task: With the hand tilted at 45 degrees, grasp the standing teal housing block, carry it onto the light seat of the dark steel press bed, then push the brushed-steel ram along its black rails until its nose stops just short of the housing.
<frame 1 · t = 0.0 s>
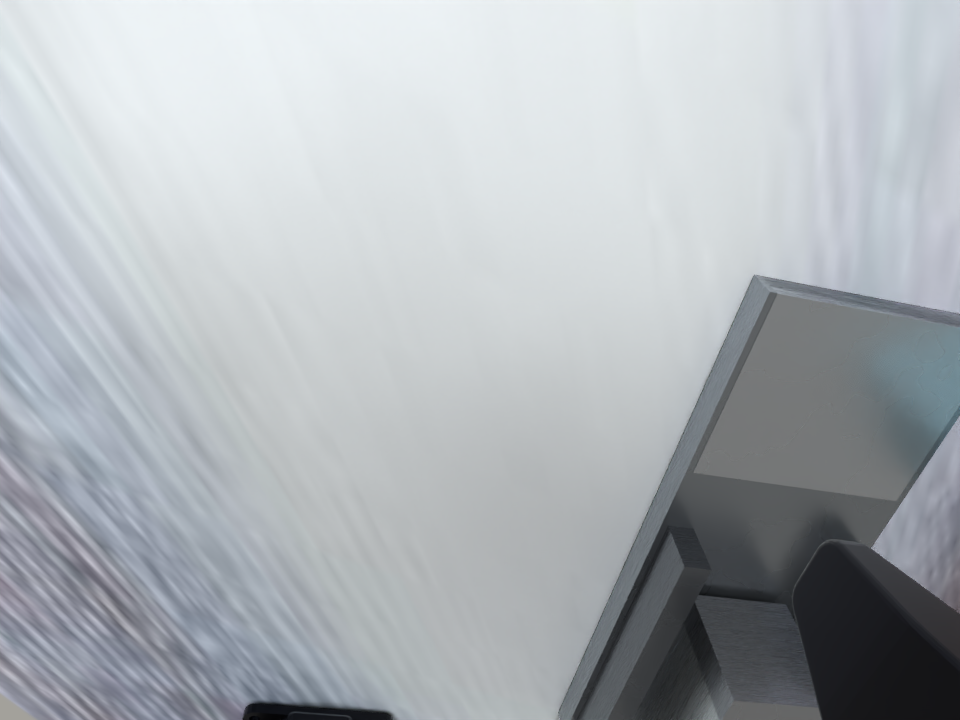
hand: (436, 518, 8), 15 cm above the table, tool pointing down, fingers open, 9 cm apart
press bed: (737, 547, 29), on the table
ram: (720, 715, 29), point 4 cm above the table, slide at 0.0 cm
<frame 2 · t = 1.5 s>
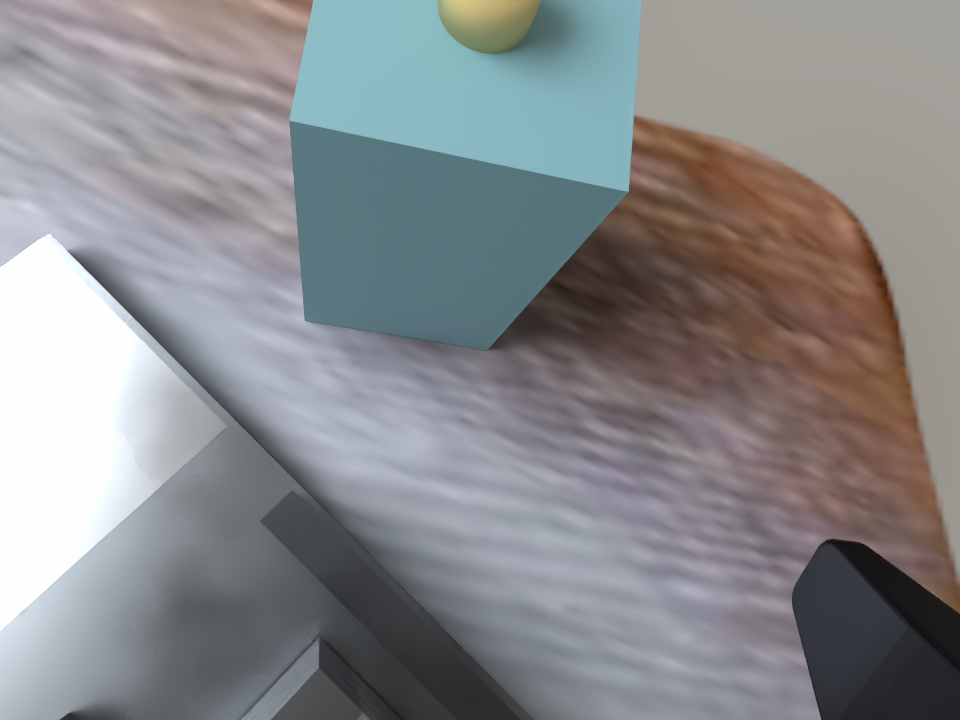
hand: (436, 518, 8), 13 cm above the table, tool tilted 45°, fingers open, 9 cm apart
housing: (410, 251, 23), on the table
press bed: (228, 655, 19), on the table
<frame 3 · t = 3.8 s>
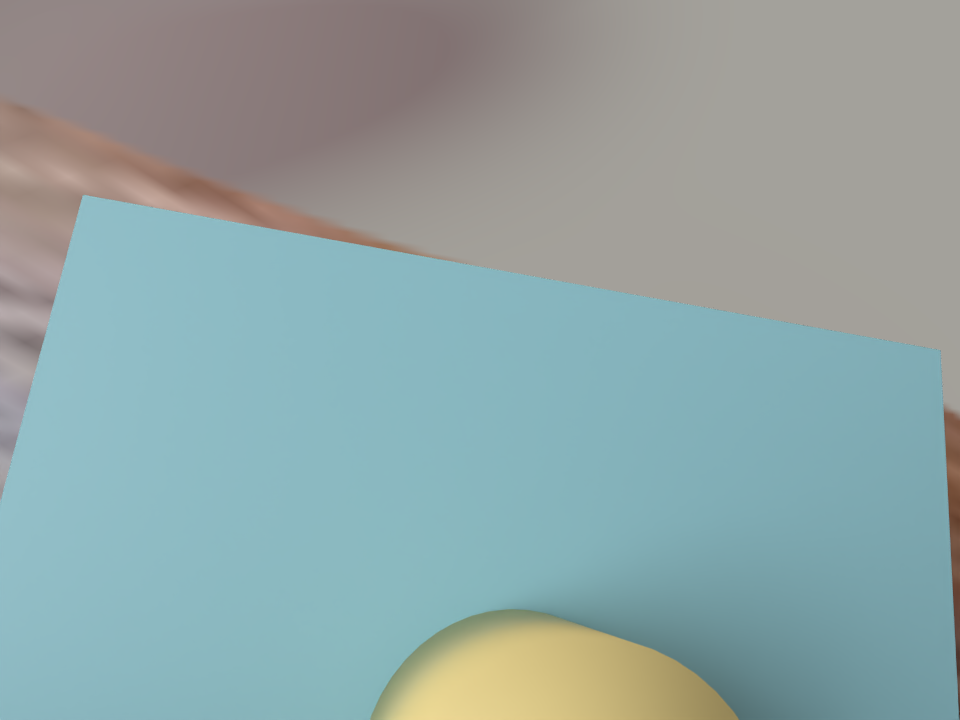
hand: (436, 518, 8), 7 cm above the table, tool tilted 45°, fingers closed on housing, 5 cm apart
housing: (373, 600, 14), on the table, touching gripper
when the fingers open (9 cm above the table, at t = 7.0 s): housing stays where it is, resting on press bed.
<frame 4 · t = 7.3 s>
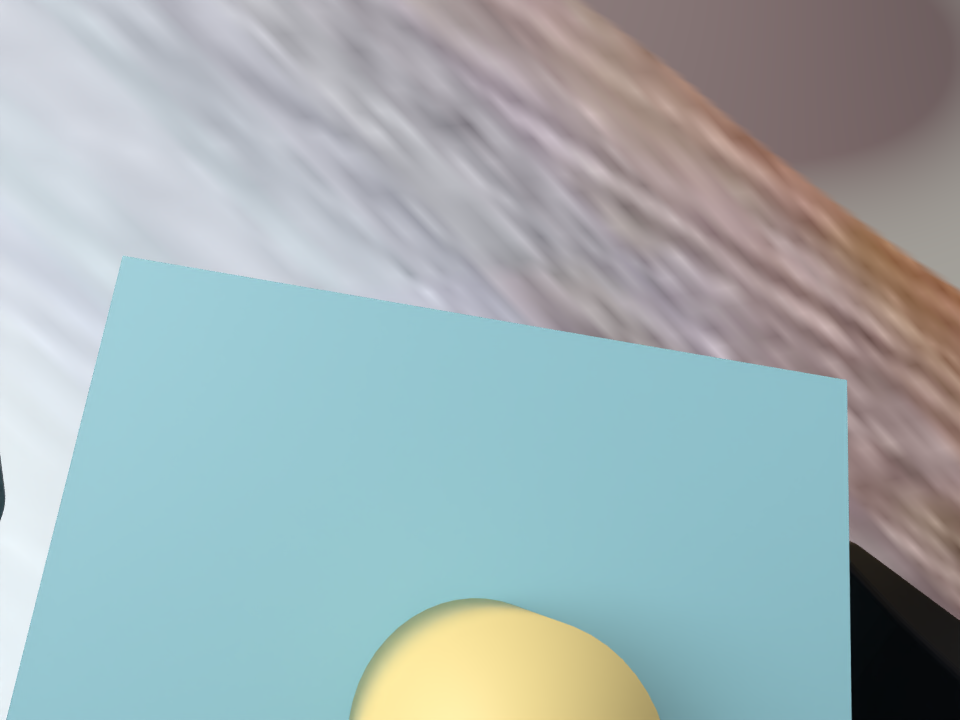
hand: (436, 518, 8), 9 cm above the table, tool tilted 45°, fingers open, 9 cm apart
housing: (369, 596, 15), point 1 cm above the table, touching press bed
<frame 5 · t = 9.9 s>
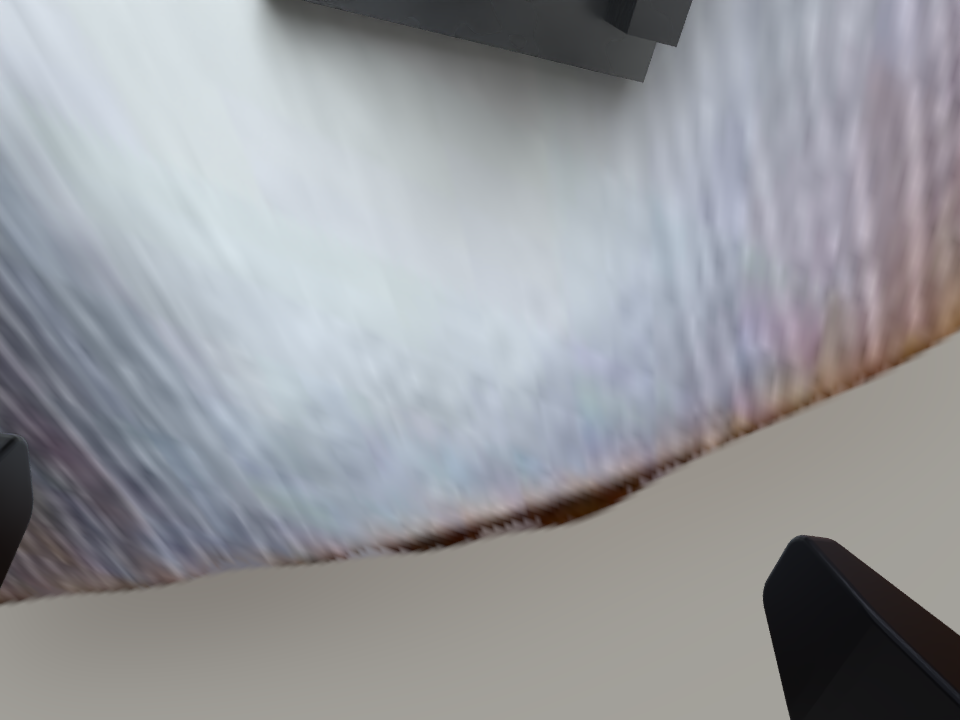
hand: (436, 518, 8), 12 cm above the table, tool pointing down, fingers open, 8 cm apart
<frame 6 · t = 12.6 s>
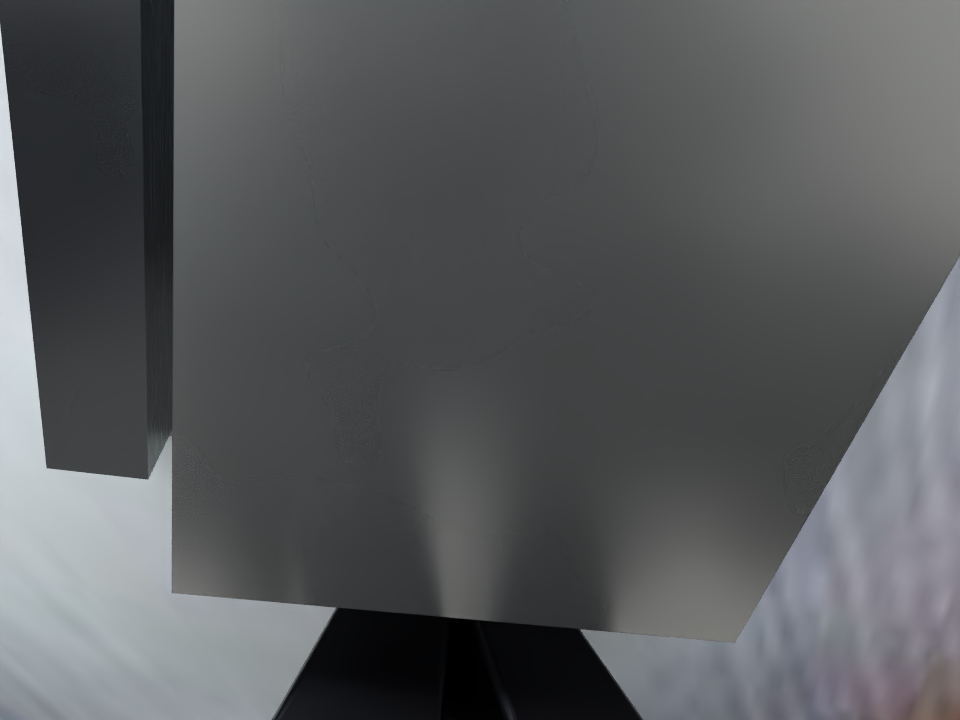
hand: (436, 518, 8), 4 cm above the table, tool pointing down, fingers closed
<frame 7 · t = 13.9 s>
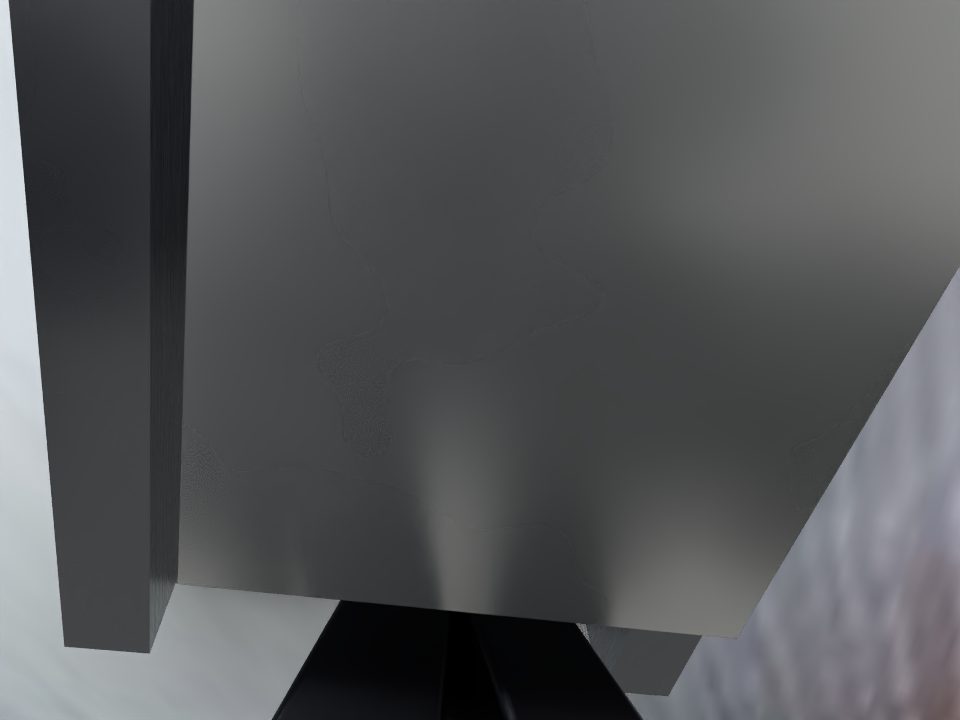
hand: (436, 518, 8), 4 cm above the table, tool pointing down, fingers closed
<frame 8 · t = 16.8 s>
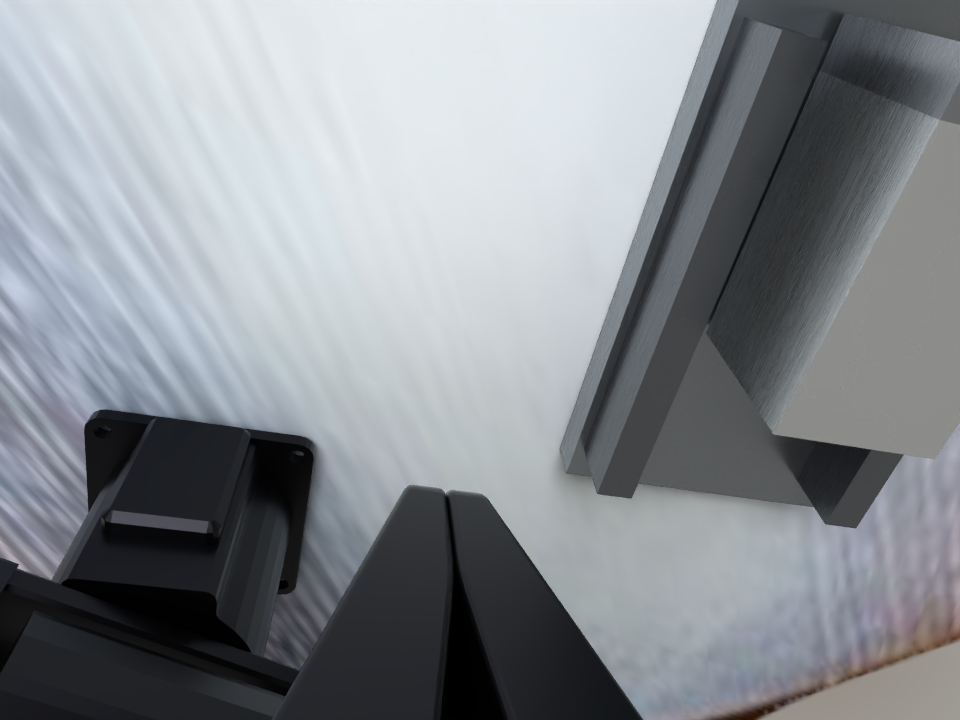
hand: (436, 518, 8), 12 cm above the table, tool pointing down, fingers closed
press bed: (844, 122, 19), on the table
ram: (890, 241, 16), point 4 cm above the table, slide at 3.6 cm
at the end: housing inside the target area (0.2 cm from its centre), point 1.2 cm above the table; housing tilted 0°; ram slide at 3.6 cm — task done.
